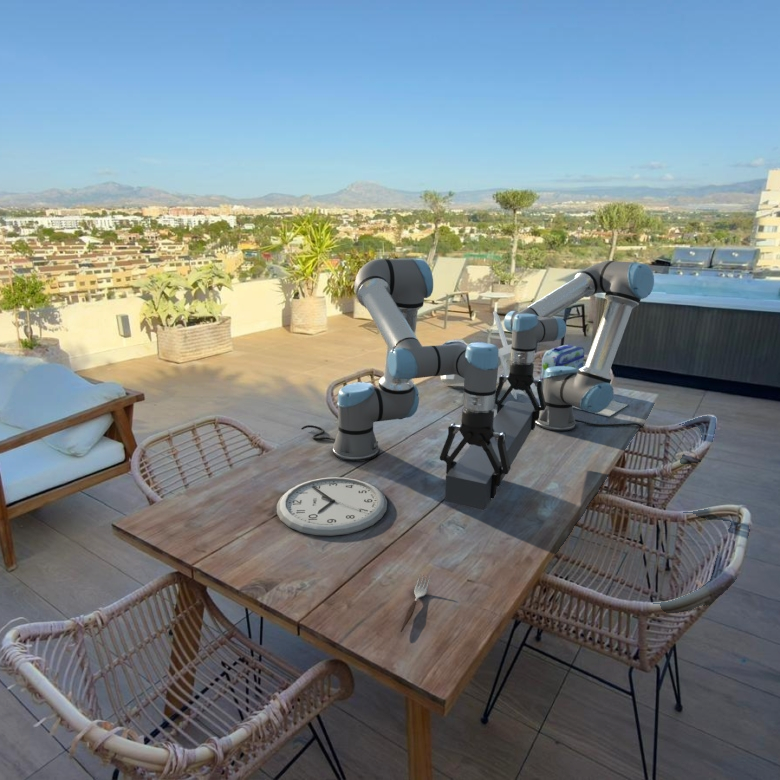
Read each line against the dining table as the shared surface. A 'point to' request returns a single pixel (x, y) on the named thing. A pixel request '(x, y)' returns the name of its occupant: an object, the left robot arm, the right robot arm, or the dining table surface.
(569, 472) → the dining table surface
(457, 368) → the left robot arm
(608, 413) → the invitation card
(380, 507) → the wall clock
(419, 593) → the fork
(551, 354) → the lunch box
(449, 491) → the wide beam
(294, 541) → the dining table surface
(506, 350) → the white plastic object
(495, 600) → the dining table surface
